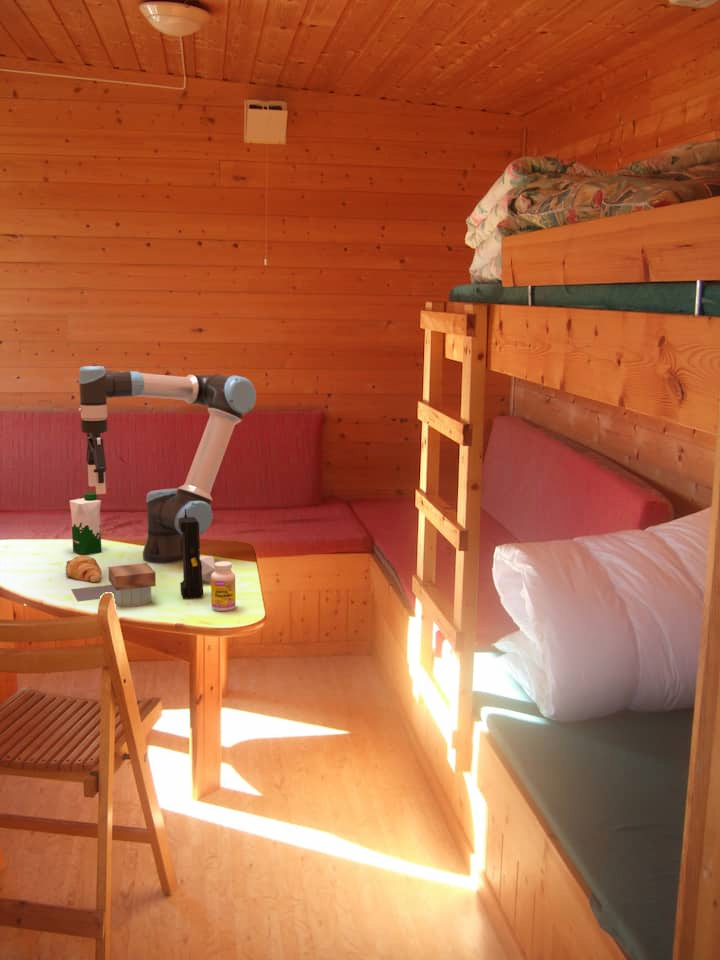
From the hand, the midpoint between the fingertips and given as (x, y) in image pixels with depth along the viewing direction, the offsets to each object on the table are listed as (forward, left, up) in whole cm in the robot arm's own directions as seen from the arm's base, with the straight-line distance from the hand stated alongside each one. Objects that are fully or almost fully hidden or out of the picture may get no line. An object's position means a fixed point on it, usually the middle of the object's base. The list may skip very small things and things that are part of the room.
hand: (97, 489), depth 292 cm
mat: (+3, +11, -29) cm, 31 cm away
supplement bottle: (-27, +39, -29) cm, 56 cm away
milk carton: (-2, -40, -29) cm, 49 cm away
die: (-29, +11, -29) cm, 42 cm away
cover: (-5, +23, -23) cm, 33 cm away
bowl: (-5, +23, -29) cm, 37 cm away
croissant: (+4, -9, -29) cm, 31 cm away
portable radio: (-22, +24, -29) cm, 44 cm away
